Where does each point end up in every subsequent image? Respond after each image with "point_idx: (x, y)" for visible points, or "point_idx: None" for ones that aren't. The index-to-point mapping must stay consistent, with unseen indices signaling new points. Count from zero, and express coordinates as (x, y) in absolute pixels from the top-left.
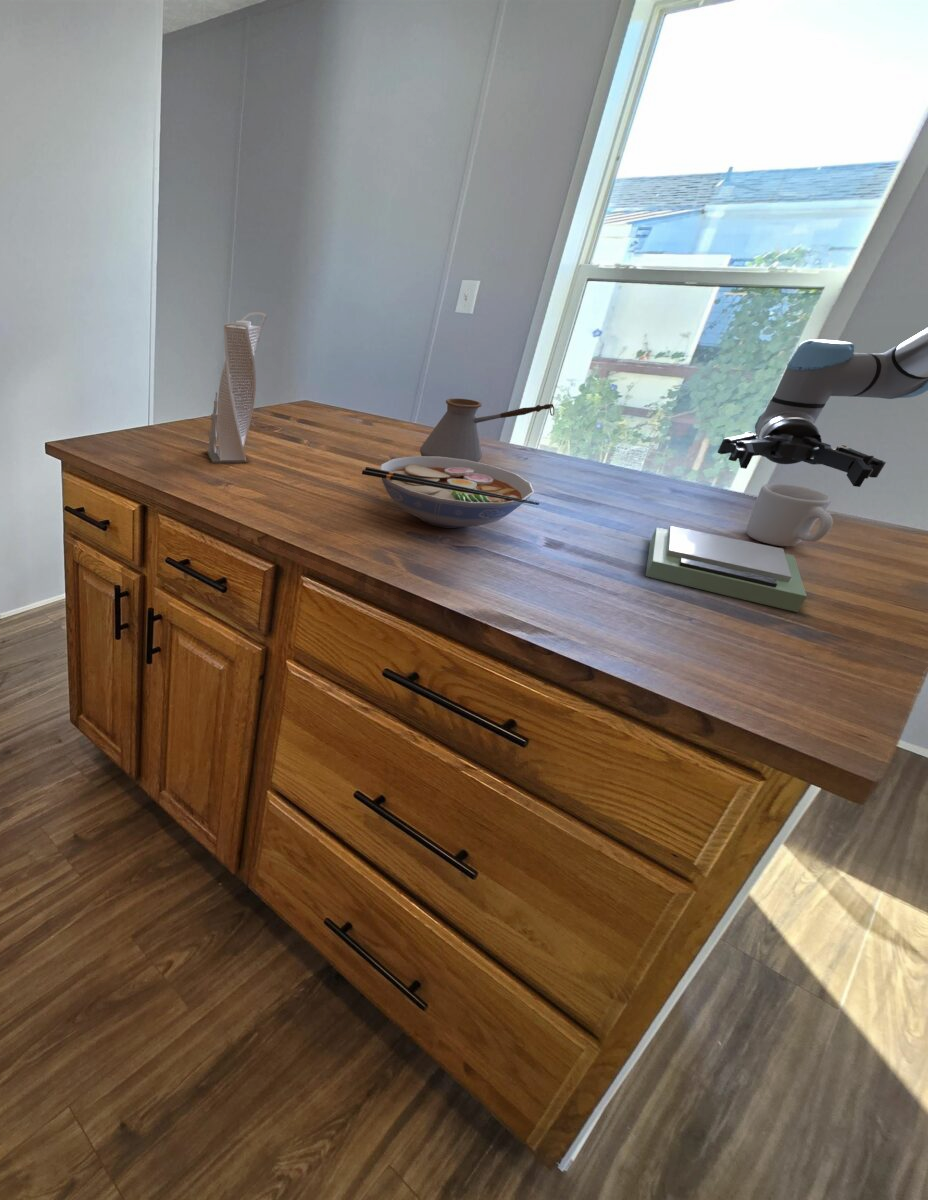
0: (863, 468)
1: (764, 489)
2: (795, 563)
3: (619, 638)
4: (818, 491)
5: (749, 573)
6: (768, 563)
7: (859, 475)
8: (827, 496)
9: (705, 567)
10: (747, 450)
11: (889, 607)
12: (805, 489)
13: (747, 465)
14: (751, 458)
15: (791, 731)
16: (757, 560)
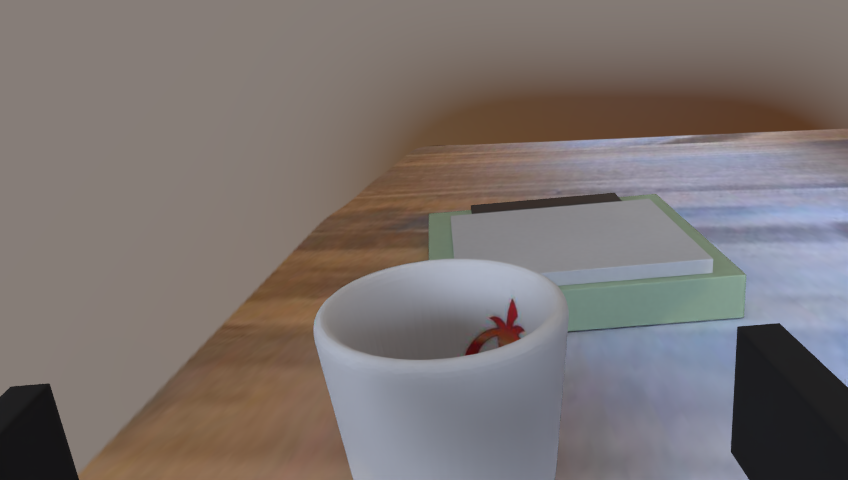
0: (35, 393)
1: (553, 283)
2: None
3: (607, 157)
4: (344, 347)
5: (512, 208)
6: (485, 229)
7: (62, 430)
8: (324, 322)
9: (576, 196)
10: (825, 376)
11: (268, 313)
12: (391, 358)
13: (734, 426)
14: (735, 373)
15: (457, 150)
16: (504, 228)
